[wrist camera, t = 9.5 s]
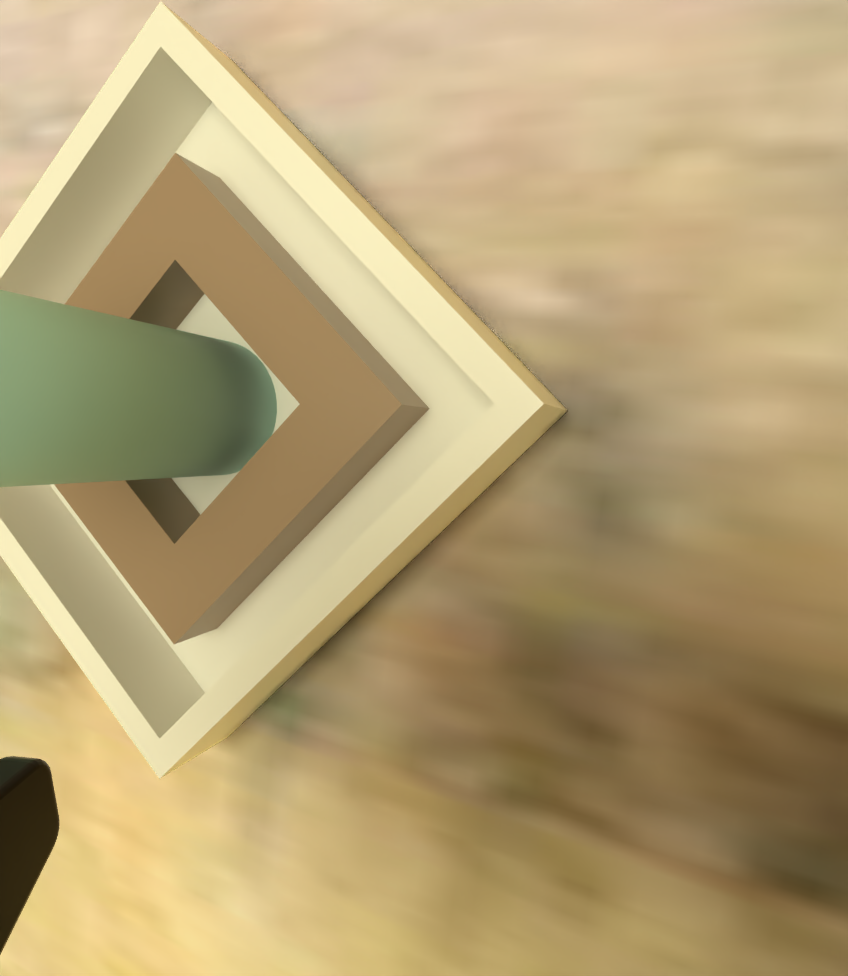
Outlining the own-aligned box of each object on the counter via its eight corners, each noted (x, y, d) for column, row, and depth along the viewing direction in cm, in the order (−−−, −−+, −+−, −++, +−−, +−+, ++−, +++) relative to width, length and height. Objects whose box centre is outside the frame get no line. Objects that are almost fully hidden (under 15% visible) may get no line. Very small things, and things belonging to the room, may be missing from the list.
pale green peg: (293, 363, 22) (-336, 233, 9) (255, 494, 22) (-384, 558, 9) (183, 324, 23) (-514, 157, 10) (150, 449, 24) (-545, 449, 10)
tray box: (567, 410, 20) (544, 404, 17) (227, 737, 24) (159, 778, 21) (232, 60, 23) (160, 1, 20) (-19, 406, 27) (-110, 400, 24)
